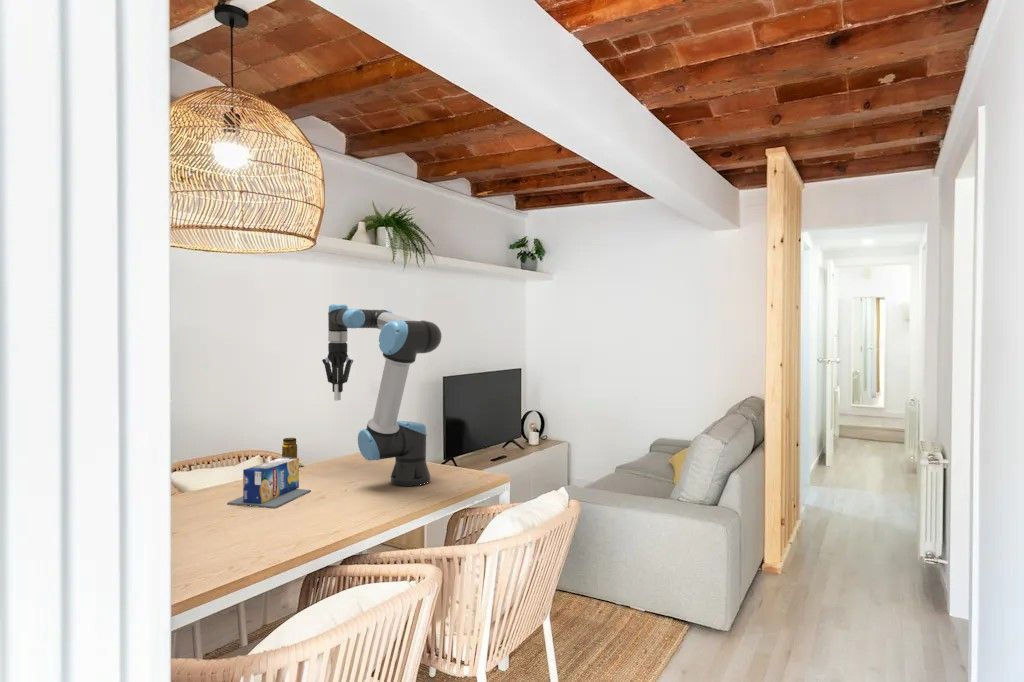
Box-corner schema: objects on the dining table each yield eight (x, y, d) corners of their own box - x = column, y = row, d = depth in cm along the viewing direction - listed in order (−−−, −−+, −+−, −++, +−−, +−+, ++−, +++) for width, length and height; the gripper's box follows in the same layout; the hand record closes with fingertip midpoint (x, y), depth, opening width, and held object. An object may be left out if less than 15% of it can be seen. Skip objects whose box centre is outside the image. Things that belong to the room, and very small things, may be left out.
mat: (310, 491, 231) (310, 489, 231) (275, 508, 210) (275, 506, 210) (266, 488, 235) (266, 486, 235) (227, 504, 214) (227, 502, 214)
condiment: (278, 466, 272) (278, 438, 272) (298, 463, 277) (298, 436, 277) (284, 469, 266) (285, 440, 266) (304, 466, 272) (305, 438, 271)
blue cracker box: (299, 457, 234) (261, 470, 212) (298, 487, 234) (261, 503, 213) (282, 456, 235) (243, 469, 214) (282, 486, 236) (243, 502, 214)
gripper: (356, 342, 264) (356, 399, 264) (327, 341, 267) (327, 398, 267) (348, 342, 257) (348, 401, 257) (318, 342, 259) (318, 400, 260)
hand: (337, 400), depth 262 cm, fingers closed
